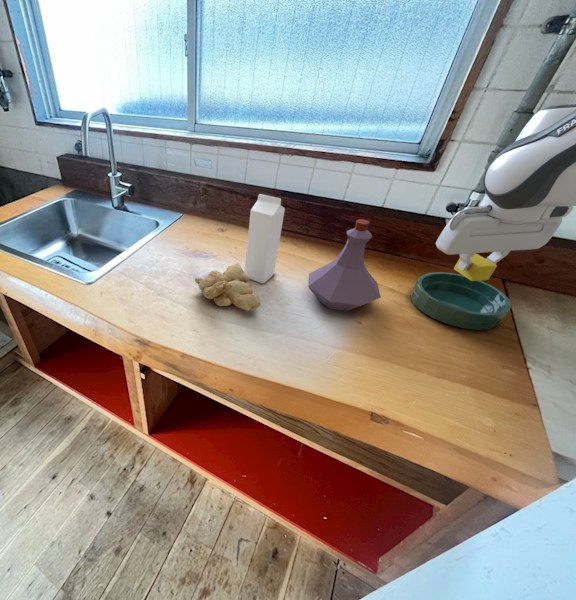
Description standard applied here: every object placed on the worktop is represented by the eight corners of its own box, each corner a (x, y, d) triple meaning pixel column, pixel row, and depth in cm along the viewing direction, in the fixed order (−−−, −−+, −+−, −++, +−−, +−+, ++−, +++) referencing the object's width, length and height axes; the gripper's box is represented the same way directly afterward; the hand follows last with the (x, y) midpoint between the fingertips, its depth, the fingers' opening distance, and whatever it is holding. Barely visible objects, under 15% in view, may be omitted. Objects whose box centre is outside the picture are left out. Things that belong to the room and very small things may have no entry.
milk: (262, 284, 85) (275, 202, 72) (243, 276, 88) (251, 197, 75) (274, 274, 88) (287, 195, 75) (254, 267, 92) (264, 190, 78)
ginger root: (196, 273, 88) (203, 249, 82) (252, 289, 87) (263, 265, 82) (186, 310, 76) (194, 284, 70) (251, 328, 75) (264, 303, 70)
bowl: (520, 328, 68) (533, 312, 65) (443, 334, 67) (453, 317, 64) (459, 285, 81) (468, 270, 78) (395, 289, 80) (401, 274, 78)
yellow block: (488, 280, 67) (497, 265, 65) (471, 281, 67) (480, 266, 65) (469, 267, 71) (477, 253, 69) (453, 268, 71) (461, 254, 69)
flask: (384, 296, 78) (418, 218, 67) (362, 331, 69) (397, 247, 57) (318, 274, 88) (337, 202, 76) (290, 302, 78) (307, 224, 66)
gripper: (472, 214, 57) (437, 279, 65) (583, 207, 57) (534, 272, 66) (446, 201, 62) (416, 263, 70) (548, 195, 62) (507, 257, 71)
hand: (474, 268), depth 68 cm, fingers closed on yellow block, 3 cm apart
